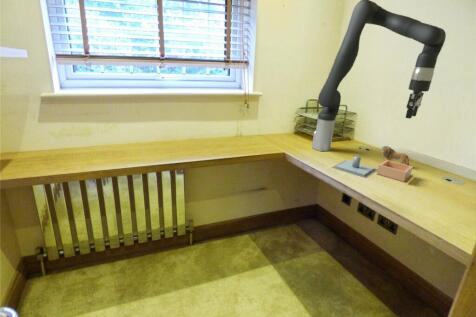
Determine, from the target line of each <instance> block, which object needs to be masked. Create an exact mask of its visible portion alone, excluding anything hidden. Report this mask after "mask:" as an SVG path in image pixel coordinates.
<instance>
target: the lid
mask: <svg viewBox="0 0 476 317" xmlns="http://www.w3.org/2000/svg"><path fill="white" fill-rule="evenodd" d="M361 159H362V157H361V156H359V155H354V156H353V160H346V161H345V160H344V161H345V162H343V161H342V162H343V163H341V162H340V163H341V164H339V163H338V164H339V165H337V164H336V165H337V166H336V168H338V169H342V170H345V171H348V172H352V173H355V174H358V175H362V176H365V175H367V174H368V173H370V172H371V171H373V170H374V169H376V168H375V167H373V166H369V165H365V164H363V163H361V161H362V160H361ZM338 169H337V170H338Z"/></svg>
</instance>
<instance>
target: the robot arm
mask: <svg viewBox="0 0 476 317" xmlns="http://www.w3.org/2000/svg"><path fill="white" fill-rule="evenodd" d="M367 24H368V25H375V26H379V27H383V28H385V29H387V30H388V31H391V32H393V33H395V34H398V35H399V36H403V37H405V38H407V39H412V40H414V41H416V42H418V43H420V44H422V45H423V48H422V49H421V50H422V51H421V52H420V53H419V54H418V55H417V58H416V62H415V65H414V69H413V71H412V74H411V78H410V81H409V85H408V90H409V91H412V93H410V94H409V97H408V101H407V104H406V113H405V118H406V119H412V118H413V117H416V116H417V114H418V110H419V108H420V106H421V105H422V101H423V97H424V95H425V94H424V92H426V93H427V92H428V91H429V90H430V88H431V84H432V80H433V77H434V73H435V72H434V71H435V68H436V65H437V60H438V58H439V54H441V51H442V48H443V47H444V44H445V41H446V37H447V33H446V31H445V29H443V28H441V27H439V26H435V25H432V24H430V23H424V22H422V21H421V20H417V19H415V18H413V17H410V16H406V15H403V14H398V13H396V12H391V11H389V10H387V9H385V8H384V7H382V6H380V5H379V4H377V3H376V2H375V1H372V0H360V1H358V2H357V3H356V4H355V6H354V8H353V10H352V13H351V16H350V20H349V23H348V26H347V29H346V32H345V34H344V37H343V39H342V42H341V44H340V47H339V49H338V51H337V52H336V53H337V54H336V56H335V59H334V61H333V64H332V67H331V69H330V71H329V73H328V76H327V78H326V81H325V83H323V86H322V88H321V90H320V92H319V94H318V96H317V98H318V99H317V101H318V105H319V106H321V107H322V109H321V111H320V112H319V113H318V115H317V122H316V129H315V131H314V132H313V138H312V144H311V145H312V146H311V148H312V149H314V150H315V151H319V152H329V151H330V150H331V147H332V140H333V135H334V130H335V129H334V128H335V123H336V119H337V116H338V113H339V110H340V106H341V101H342V100H341V99H342V95H341V92H340V91H339V90H338V88H339V86H340V84H341V82H342V81H343V80H344V79H345V77H346V76H347V75H348V74H349V72H350V71H351V69H352V68H353V66H354V65H355V62H356V60H357V57H358V55H359V50H360V39H361V35H362V33H363V30H364V28H365V26H366V25H367Z"/></svg>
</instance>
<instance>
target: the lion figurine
mask: <svg viewBox="0 0 476 317" xmlns="http://www.w3.org/2000/svg"><path fill="white" fill-rule="evenodd" d="M380 154H381V155H382V156H383V157H384V158H385V159H386V160H389V161H392V160H395V161H396V160H401V164H405V165H409V166H411V165H410V158H409V156H408V154H406V153H404V152H396V151H395V150H394V148H391V147H390V146H388V145H383V146H381V149H380Z"/></svg>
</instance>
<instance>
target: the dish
mask: <svg viewBox="0 0 476 317" xmlns="http://www.w3.org/2000/svg"><path fill="white" fill-rule="evenodd" d="M401 163H402V162H401ZM401 163H400V162H398V161H397V162H396V161H392V160H390V161H389V160H387V159H386V160H384V161H382V163H380V164H379V165H378V166H377V169H378V170H377V171H376V176H377V175H378V176H380V177H384V178H388V179H391V180H395V181H397V182H402V183H404V182H406V181H407V180H408V179H409V178H410V177H411V175H412V172H413V167H414V166H412V165H410V164H409V165H410V166H409V165H405V164H401Z"/></svg>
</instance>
